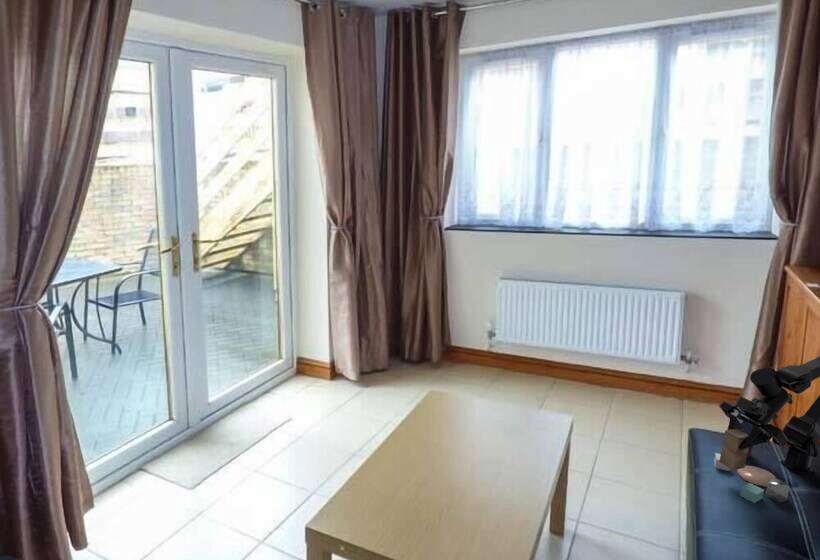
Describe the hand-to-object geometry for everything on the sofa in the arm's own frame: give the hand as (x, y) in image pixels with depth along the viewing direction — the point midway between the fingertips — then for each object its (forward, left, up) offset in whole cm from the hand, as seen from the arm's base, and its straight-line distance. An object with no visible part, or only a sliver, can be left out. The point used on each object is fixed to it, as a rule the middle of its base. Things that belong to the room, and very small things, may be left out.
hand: (732, 444), depth 159 cm
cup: (-17, -12, -12) cm, 24 cm away
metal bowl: (-9, +9, -12) cm, 17 cm away
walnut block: (-1, 0, -7) cm, 7 cm away
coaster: (-11, 0, -12) cm, 16 cm away
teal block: (-1, +8, -12) cm, 14 cm away
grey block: (-5, -7, -12) cm, 15 cm away
